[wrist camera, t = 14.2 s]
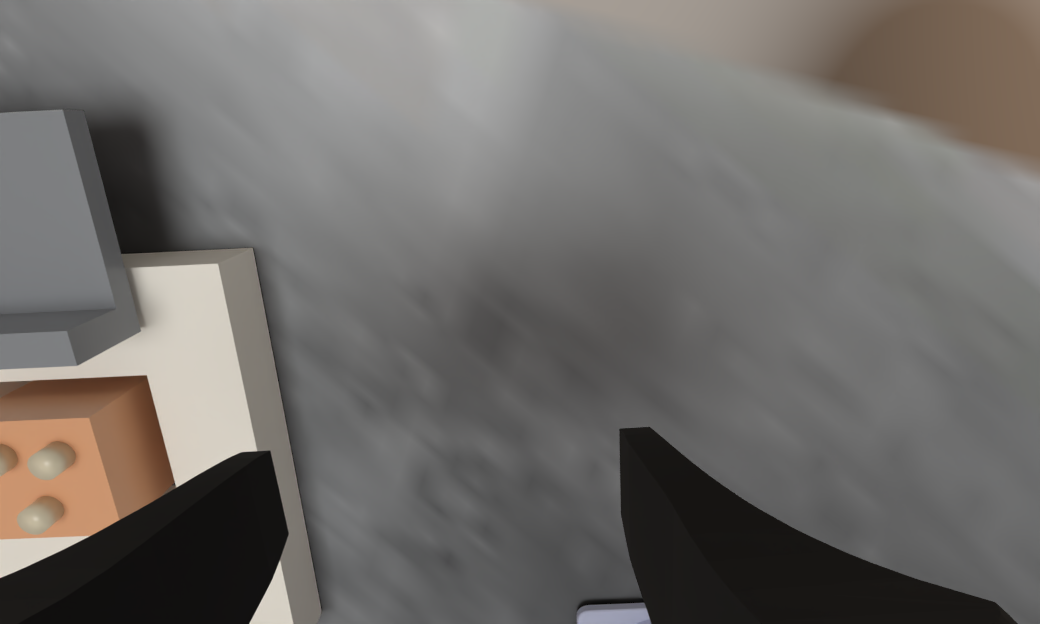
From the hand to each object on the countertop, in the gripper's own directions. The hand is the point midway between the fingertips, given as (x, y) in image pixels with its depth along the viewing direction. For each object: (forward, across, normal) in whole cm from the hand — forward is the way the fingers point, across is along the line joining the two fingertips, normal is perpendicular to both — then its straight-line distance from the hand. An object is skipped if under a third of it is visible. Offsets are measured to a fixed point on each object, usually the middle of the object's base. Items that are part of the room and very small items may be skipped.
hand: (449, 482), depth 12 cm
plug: (+10, +14, +3) cm, 17 cm away
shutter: (+7, +14, -5) cm, 16 cm away
